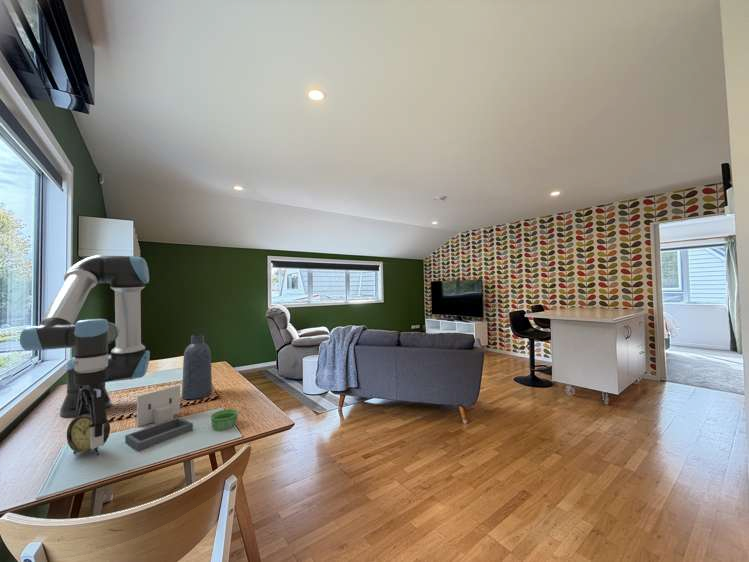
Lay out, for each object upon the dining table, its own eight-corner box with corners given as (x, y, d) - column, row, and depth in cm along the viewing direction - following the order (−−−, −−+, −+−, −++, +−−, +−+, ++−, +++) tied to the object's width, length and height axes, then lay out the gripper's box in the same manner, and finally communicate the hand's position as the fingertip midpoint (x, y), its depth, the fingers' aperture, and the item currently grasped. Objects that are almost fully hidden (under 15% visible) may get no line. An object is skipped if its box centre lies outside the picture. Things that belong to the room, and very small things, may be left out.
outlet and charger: (136, 425, 108) (137, 395, 109) (178, 412, 120) (178, 384, 121) (150, 433, 102) (150, 401, 103) (193, 418, 114) (193, 389, 114)
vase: (190, 391, 145) (190, 333, 145) (216, 390, 146) (216, 333, 147) (176, 401, 133) (176, 337, 133) (204, 399, 134) (205, 337, 135)
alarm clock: (64, 456, 89) (65, 401, 89) (84, 446, 94) (85, 395, 95) (95, 459, 87) (96, 403, 88) (114, 449, 93) (114, 397, 93)
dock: (125, 442, 96) (125, 435, 96) (179, 423, 110) (179, 417, 110) (138, 451, 91) (138, 443, 91) (192, 430, 104) (192, 423, 105)
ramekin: (228, 418, 114) (228, 407, 114) (243, 423, 110) (243, 411, 110) (205, 428, 106) (205, 415, 107) (220, 434, 102) (220, 421, 102)
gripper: (63, 367, 94) (62, 436, 94) (87, 378, 82) (86, 459, 81) (94, 362, 101) (93, 427, 100) (121, 372, 88) (120, 446, 87)
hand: (90, 441), depth 91 cm, fingers closed on alarm clock, 11 cm apart
